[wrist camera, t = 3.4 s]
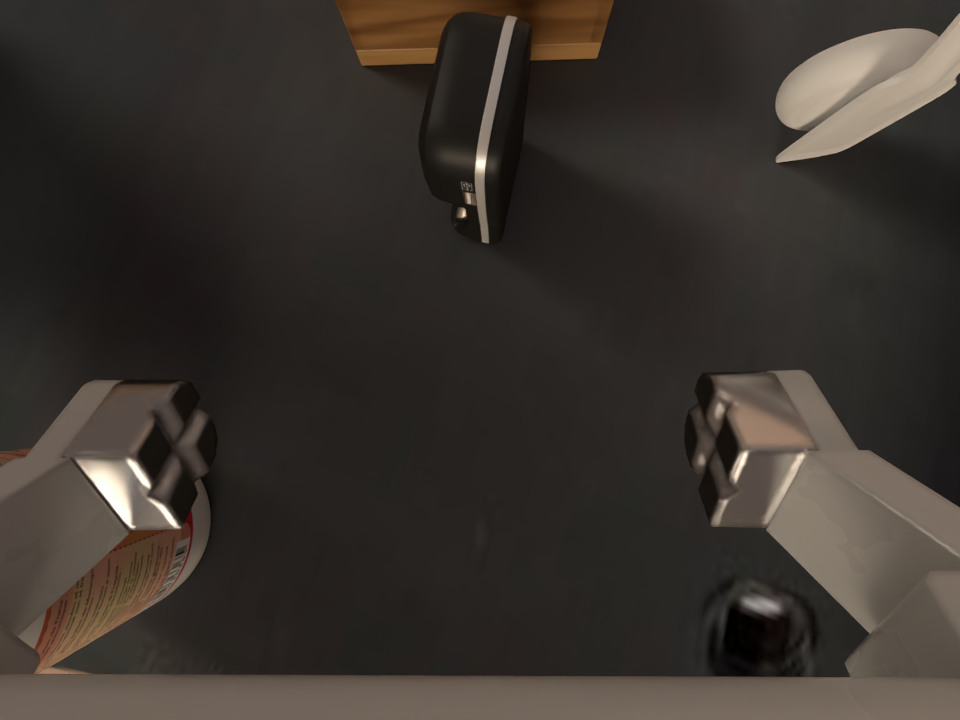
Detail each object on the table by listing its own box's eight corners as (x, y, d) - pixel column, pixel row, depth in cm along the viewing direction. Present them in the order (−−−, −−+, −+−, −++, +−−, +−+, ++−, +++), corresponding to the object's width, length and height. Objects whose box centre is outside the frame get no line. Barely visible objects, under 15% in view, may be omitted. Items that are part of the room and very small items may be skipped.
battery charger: (461, 123, 33) (441, -20, 22) (524, 135, 33) (537, -3, 22) (435, 237, 33) (402, 152, 21) (500, 250, 33) (500, 171, 21)
